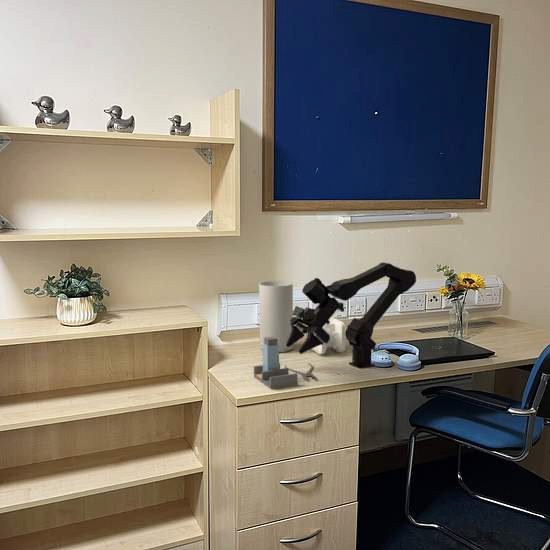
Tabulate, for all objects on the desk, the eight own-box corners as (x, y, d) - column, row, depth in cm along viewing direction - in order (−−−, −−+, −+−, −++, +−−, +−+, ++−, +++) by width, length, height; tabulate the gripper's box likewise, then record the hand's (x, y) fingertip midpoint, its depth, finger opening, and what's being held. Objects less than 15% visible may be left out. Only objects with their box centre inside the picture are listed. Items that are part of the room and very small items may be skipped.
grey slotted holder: (279, 373, 203) (279, 362, 202) (297, 385, 190) (297, 374, 190) (253, 376, 199) (253, 366, 199) (270, 389, 187) (270, 377, 186)
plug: (274, 372, 200) (273, 336, 198) (279, 375, 196) (279, 338, 195) (262, 373, 198) (262, 337, 197) (267, 377, 195) (267, 340, 193)
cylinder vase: (294, 352, 228) (294, 285, 224) (261, 353, 227) (260, 286, 223) (290, 344, 240) (290, 280, 237) (258, 345, 239) (258, 281, 236)
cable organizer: (346, 354, 225) (347, 323, 223) (320, 357, 221) (320, 325, 220) (329, 345, 239) (329, 315, 237) (304, 347, 235) (304, 317, 234)
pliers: (306, 361, 215) (335, 376, 197) (306, 363, 215) (335, 379, 197) (281, 364, 211) (308, 380, 193) (281, 367, 211) (308, 383, 193)
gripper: (294, 292, 208) (265, 328, 205) (321, 301, 191) (289, 340, 188) (315, 313, 212) (286, 348, 209) (343, 324, 195) (312, 362, 192)
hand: (293, 349), depth 200 cm, fingers open, 9 cm apart
